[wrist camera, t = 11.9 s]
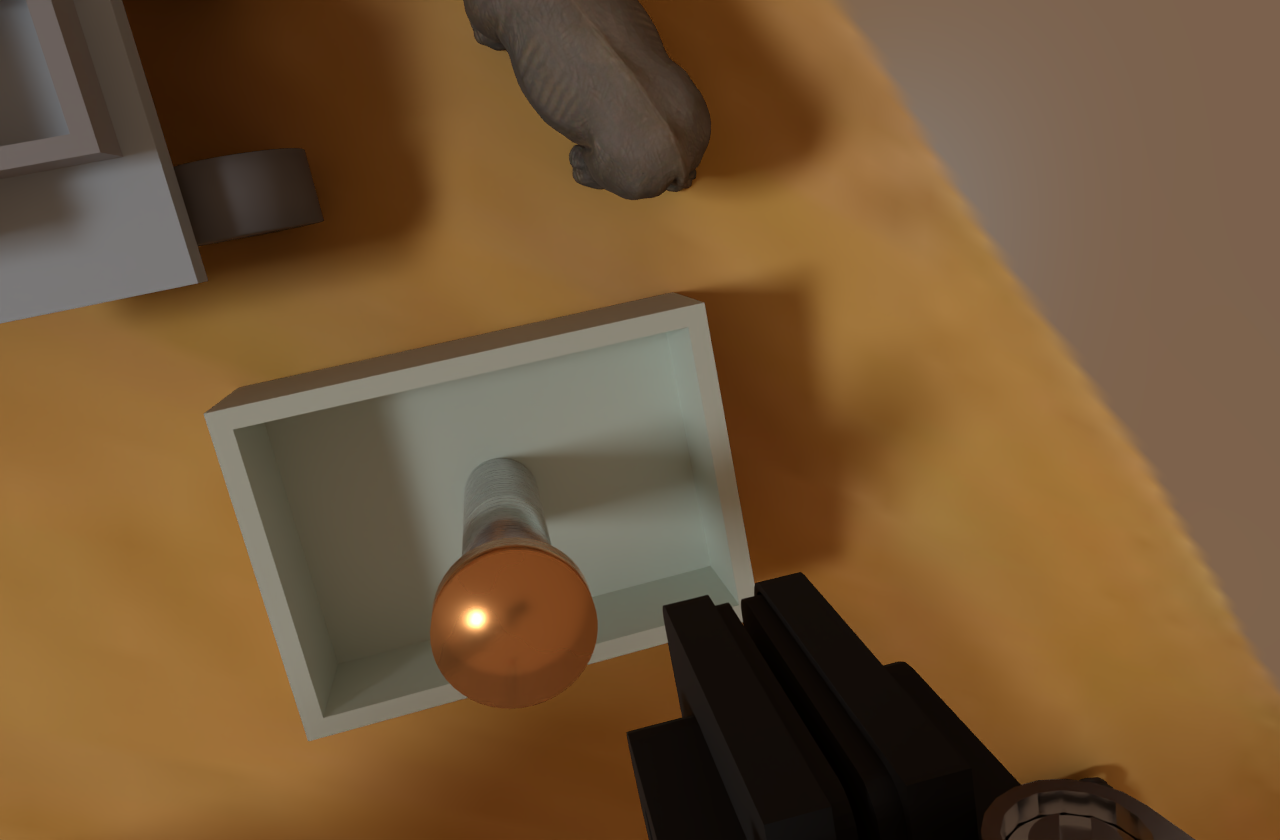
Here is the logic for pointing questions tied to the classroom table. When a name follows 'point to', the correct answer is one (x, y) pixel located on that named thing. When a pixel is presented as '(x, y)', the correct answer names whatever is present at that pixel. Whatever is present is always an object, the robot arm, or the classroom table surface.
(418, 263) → the classroom table surface
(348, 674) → the tray
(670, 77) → the rhino figurine
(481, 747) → the classroom table surface
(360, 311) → the classroom table surface
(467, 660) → the pin
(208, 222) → the trolley
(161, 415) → the classroom table surface
